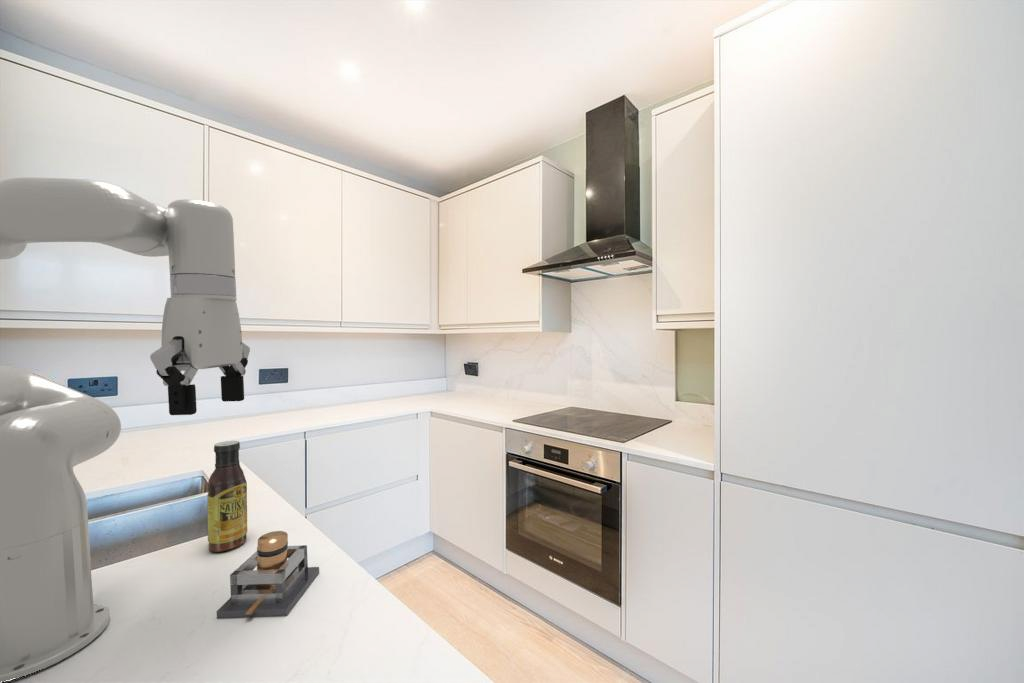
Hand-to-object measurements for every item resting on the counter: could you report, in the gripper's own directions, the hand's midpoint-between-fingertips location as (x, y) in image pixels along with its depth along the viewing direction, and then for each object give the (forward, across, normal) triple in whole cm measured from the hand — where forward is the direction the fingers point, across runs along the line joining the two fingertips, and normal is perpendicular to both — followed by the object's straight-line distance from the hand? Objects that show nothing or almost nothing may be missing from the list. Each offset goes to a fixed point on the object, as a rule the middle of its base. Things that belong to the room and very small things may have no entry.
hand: (210, 407), depth 58 cm
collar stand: (+30, -3, +6) cm, 31 cm away
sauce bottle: (+31, -18, -11) cm, 37 cm away
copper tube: (+29, -3, +6) cm, 30 cm away
